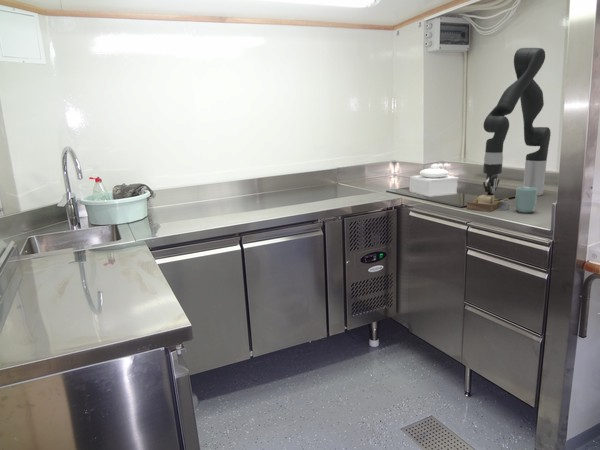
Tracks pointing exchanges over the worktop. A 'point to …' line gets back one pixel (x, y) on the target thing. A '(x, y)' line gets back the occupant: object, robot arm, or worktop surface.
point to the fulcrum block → (503, 205)
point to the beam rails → (484, 205)
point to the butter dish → (433, 182)
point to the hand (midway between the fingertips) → (489, 201)
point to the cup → (525, 199)
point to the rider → (486, 199)
